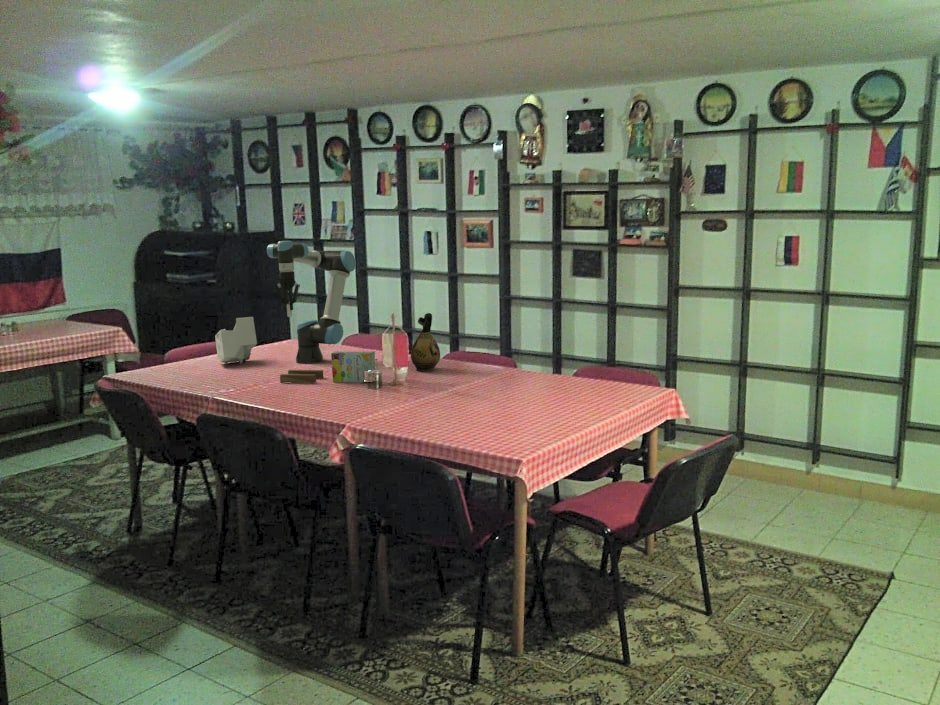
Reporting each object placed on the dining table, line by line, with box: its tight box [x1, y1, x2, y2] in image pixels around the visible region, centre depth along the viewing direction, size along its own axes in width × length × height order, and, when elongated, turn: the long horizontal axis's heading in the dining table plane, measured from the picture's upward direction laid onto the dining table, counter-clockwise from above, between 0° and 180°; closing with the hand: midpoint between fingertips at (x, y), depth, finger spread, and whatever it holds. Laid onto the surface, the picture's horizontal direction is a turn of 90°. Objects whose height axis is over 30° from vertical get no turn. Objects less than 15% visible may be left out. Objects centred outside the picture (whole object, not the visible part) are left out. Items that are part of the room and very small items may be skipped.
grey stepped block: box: [214, 316, 258, 365], centre depth 475 cm, size 20×16×25 cm
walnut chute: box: [279, 369, 324, 384], centre depth 426 cm, size 13×18×4 cm
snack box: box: [331, 350, 376, 384], centre depth 418 cm, size 21×6×15 cm, turn 78°
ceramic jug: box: [410, 312, 441, 373], centre depth 441 cm, size 17×15×30 cm
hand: (289, 316), depth 438 cm, fingers closed
